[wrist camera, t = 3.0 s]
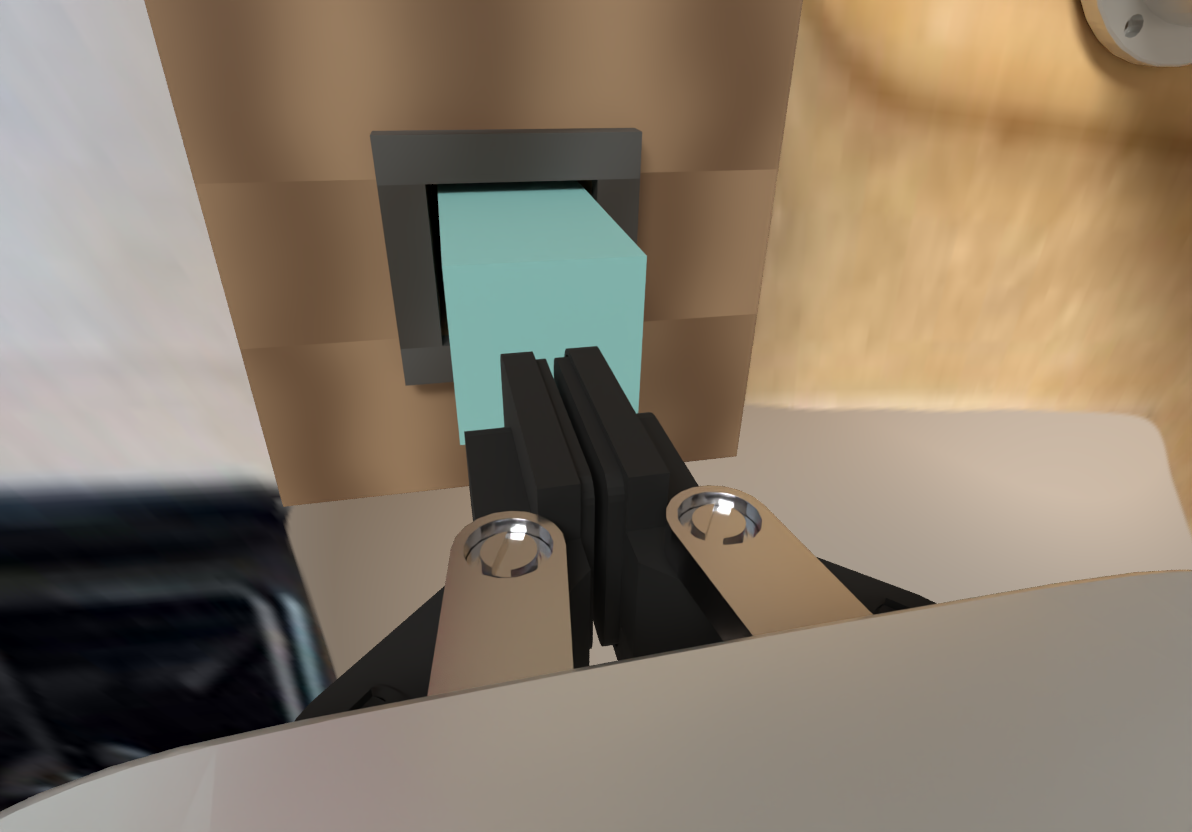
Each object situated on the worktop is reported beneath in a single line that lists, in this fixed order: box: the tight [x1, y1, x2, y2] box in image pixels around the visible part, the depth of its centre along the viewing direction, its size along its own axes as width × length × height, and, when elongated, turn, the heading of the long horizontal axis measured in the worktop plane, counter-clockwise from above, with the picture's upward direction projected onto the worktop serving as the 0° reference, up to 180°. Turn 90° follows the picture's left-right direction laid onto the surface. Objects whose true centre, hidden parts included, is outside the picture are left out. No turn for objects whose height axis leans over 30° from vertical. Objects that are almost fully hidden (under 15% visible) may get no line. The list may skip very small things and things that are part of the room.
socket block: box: [144, 0, 803, 507], centre depth 23 cm, size 16×16×10 cm
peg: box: [437, 180, 647, 445], centre depth 18 cm, size 4×4×10 cm
